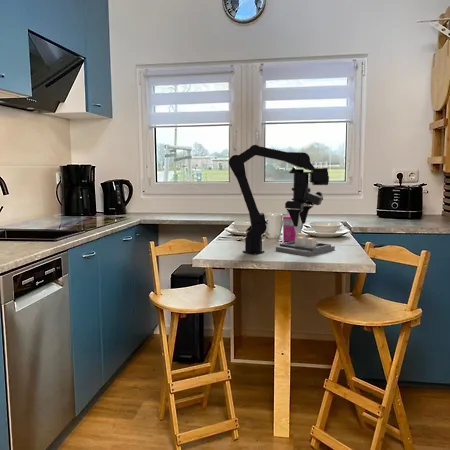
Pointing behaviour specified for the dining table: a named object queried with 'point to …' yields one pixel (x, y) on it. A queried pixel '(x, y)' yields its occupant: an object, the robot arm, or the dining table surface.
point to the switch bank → (304, 248)
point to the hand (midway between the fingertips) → (299, 225)
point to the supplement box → (290, 229)
